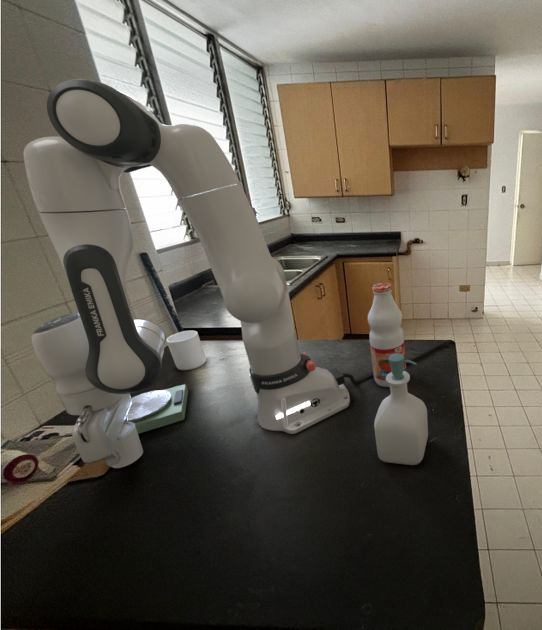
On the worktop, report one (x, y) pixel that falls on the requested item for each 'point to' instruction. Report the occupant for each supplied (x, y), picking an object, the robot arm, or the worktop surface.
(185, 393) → the scale
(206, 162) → the robot arm
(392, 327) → the fruit juice
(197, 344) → the cup
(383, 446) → the soap bottle
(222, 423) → the worktop surface
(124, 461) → the white cylindrical container
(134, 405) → the scale pan
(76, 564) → the worktop surface
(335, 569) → the worktop surface
